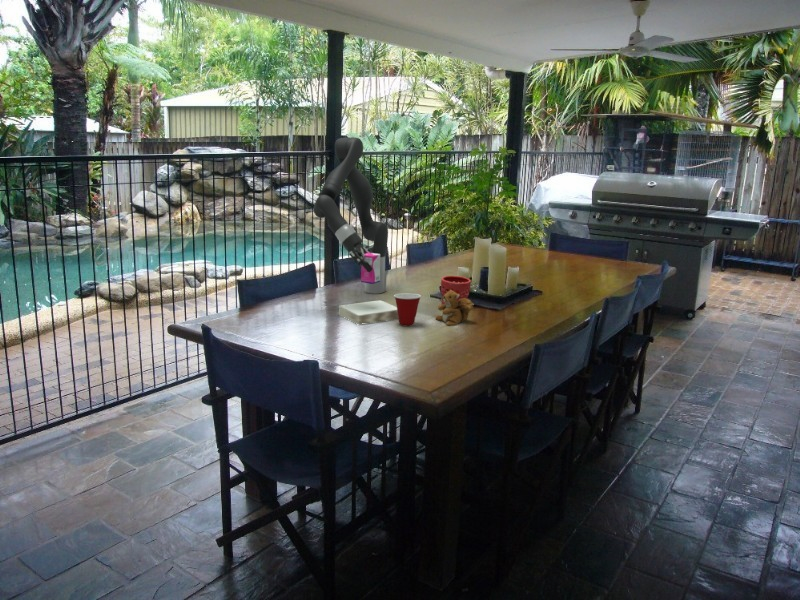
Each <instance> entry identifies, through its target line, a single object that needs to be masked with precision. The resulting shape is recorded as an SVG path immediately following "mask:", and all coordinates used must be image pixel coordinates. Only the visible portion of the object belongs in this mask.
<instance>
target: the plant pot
mask: <svg viewBox="0 0 800 600" xmlns="http://www.w3.org/2000/svg"><path fill="white" fill-rule="evenodd" d="M471 282H472V281H471V279H470V278H467V277H464V276H460V275H446V276H442V277H441V280H440V293H441V296H442V297H443V296H444V295H445V294H446V293H447V292H448V291H450V290H452V291H454V292H456V293H457V294H459V297H458V298H457V301H458V300H459V299H463V298H465V299H468V297H469V294H470V290H471V284H472V283H471ZM442 297H441V298H442ZM441 298H440V301H441V300H442V301H441V303H442V304H445V302H444V300H443V299H441Z"/></svg>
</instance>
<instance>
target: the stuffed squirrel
mask: <svg viewBox="0 0 800 600" xmlns="http://www.w3.org/2000/svg"><path fill="white" fill-rule="evenodd" d="M458 297H459V294H457V293H456V292H454V291H452V290H450V291H448V292H447V293H446V294H445V295H444V296H443V297H441V298H440V301H442V300H441V299H443V300H444V302H445V304H443V303H442V304H439V305H438V306H437V310H438V311H440V312H442V315H436V316H435V318H434V319H435V320H436V321H443V322H444V323H446V324H445V325H446V326H447V325H448V326H449V327H450V326H451V325H452V326H457V325H458V324H459V323H463V322H464V321H466V320H467V319H468V318H469V313H470V312H471V311H472V310H473V309H474V305H475V303H473V302H472V301H471V299H469V298H467V299H465V298H463V299H459V300H458V301H457V298H458ZM448 326H447V327H448Z"/></svg>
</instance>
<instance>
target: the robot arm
mask: <svg viewBox="0 0 800 600" xmlns="http://www.w3.org/2000/svg"><path fill="white" fill-rule="evenodd" d="M334 151H335V154H336V157H337V160H338V162H339V164H338V165H337V166H336V167H334V169H333V170H331V172H330V173H329V174H328V176H327V177H326V180H325V181H324V183H323V185H322V186H323V187H322V188H321V191H320V194H319V196H318V197H317V199H316V200H315V203H314V205H313V209H312V210H313V213H314V215H315V216H316V217H317V218H320V219H325V218H326V221H327V226H328V227H329V229H330V231H331V232H332V233H333V235H335V237H336V239H337V240H338V241H339V242H340V244H341V245H342V246H343V247H344V248H345V250H346V251H347V252H348V253H349V256H350V257H351V258H352V259H353V260H354V262H355V263H356V264H357V265H358V266H361V265H362V266H363V267H364V268H365V269H366V270H367V272H371V271H372V270H373V269H372V267H371V266H370V265H369V264H368V262H367V261H366V259H365V254H366V253H375V254H380V282H378V283H375V284H369V283H364V292H365V293H367V294H373V295H374V294H376V295H377V294H383V293H385V292H387V272H386V252H387V249H388V239H389V229H388V225H387V223H385V222H382V221H376V220H374V219H373V217H372V214H371V208H372V204H373V201H374V192H373V190H372V187H371V183H370V181H369V180H368V179H367V177H366V176H365V175H364V174H363V173H362V172H361V171H360V170H359V169H358V168H357V166H356V165H357V163H358V162H359V161H360V159H361V157H362V156H363V152H364V143H363V141H362V140H361V138H359V137H354V136H352V137H351V136H350V137H340V138H336V141H335V143H334ZM345 181H346V182H347V185H348V188H349V190H350V191H349V192H350V194H351V197H352V200H353V203H354V205H355V209H356V212H357V216H358V218H359V225H360V229H361V232H362V236H363V237H364V239H365V240H367V241H371V242H373V246H372V247H369V245H366V246H364V245H363V244H362V243H363V239H362V238H361V236H360V235H359V234H358V233H357V232H356V230H355V229H354V227H352V226H351V225H350V224H349V222H348V221H347V220H346V219H345V218H344V217H343V215H342V213H341V211H340V209H339V207H338V206H337V204H336V202H335V201H336V199H337V197H338V196H339V194H340V191H341V190H342V187H343V185H344V184H345Z"/></svg>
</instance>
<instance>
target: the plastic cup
mask: <svg viewBox="0 0 800 600" xmlns="http://www.w3.org/2000/svg"><path fill="white" fill-rule="evenodd" d="M393 297H394V299H395V304H396V307H397V312H398V318H399V319H398V323H400V324H401V325H400V324H399V325H400V326H403V325H406V326H405V327H411V326H410V325H412V326H413V325H414V323H415V321H416V316H417V312H418V308H419V303H420V300H421V298H422V295H421V294H419V293H406V292H405V293H403V292H402V293H396V294H394V295H393Z"/></svg>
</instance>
